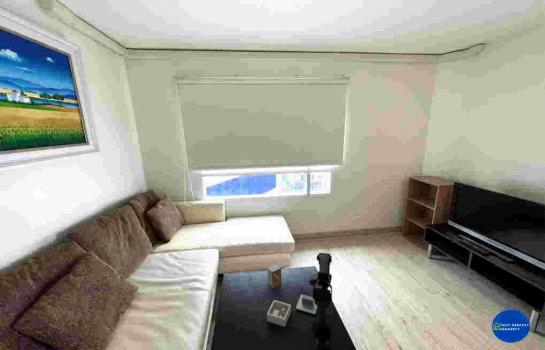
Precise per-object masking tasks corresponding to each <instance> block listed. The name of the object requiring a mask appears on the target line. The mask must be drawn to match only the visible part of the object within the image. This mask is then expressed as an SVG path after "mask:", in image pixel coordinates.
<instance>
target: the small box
mask: <svg viewBox="0 0 545 350" xmlns="http://www.w3.org/2000/svg"><path fill="white" fill-rule="evenodd" d="M266 269H267V285H269V286H270V287H271V289H274V288H276V287H278V286H280V285H281V284H282V268H281V266H279V265H278V264H277V263H276V264H273V265H270V266H269V267H267V268H266Z"/></svg>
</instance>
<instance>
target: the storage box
mask: <svg viewBox="0 0 545 350" xmlns="http://www.w3.org/2000/svg"><path fill="white" fill-rule="evenodd" d="M291 313H292V304H289V303H286V302H283V301H278V300H274V299H273V301H272V303H271V305H270V307H269V309H268V311H267V313H266V320H267V322H269V323H272V324H275V325H278V326H281V327H284V328H285V327H286V326H287V323H288V321H289V318H290V315H291Z"/></svg>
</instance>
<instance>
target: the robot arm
mask: <svg viewBox="0 0 545 350" xmlns="http://www.w3.org/2000/svg"><path fill="white" fill-rule="evenodd" d="M332 258H333V256H332V255H331V253H328V252H327V253H326V252H318V254H317V256H316V260H317V262H318V265H319V267H318V268H319V269H318V271H317V273H316V274H310V275H309V278H308V280H309V281H308V283H309V284H310V286H312V297H313V299H314V303H315V304H316V305H317V312H316V316H315V319H314V320H313V322H312V323H313V324H312V336H313V339H316V342H315V348H314V350H330V343H332V322H331V318H330V317H331V316H330V315H329V314H328V308H329V307H331V303H333V286H332V279H333V274H331V264H333V263H332V262H333V261H332V260H333V259H332ZM316 286H319V287H316ZM320 287H322V288H320ZM329 288H330V289H329Z"/></svg>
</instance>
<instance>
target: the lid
mask: <svg viewBox="0 0 545 350" xmlns="http://www.w3.org/2000/svg"><path fill="white" fill-rule="evenodd" d="M295 310H297V311H302V312H305V313H308V314H312V315H317V311H318V306H317V305H316V304H315V303H314V299H313V296H309V295H305V294H302V293H300V297H299V298H298V301H297V304H296V307H295Z"/></svg>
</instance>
